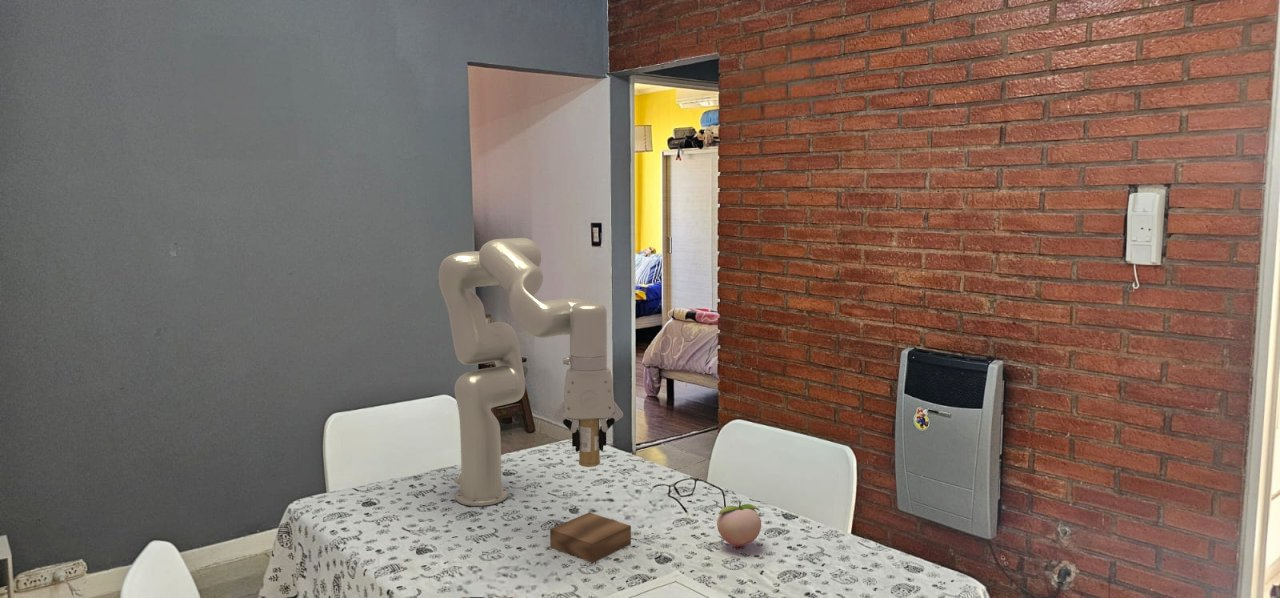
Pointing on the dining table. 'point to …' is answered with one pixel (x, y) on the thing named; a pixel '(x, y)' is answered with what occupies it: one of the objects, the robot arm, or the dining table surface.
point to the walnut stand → (590, 537)
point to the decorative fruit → (739, 524)
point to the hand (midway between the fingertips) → (589, 448)
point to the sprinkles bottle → (589, 443)
